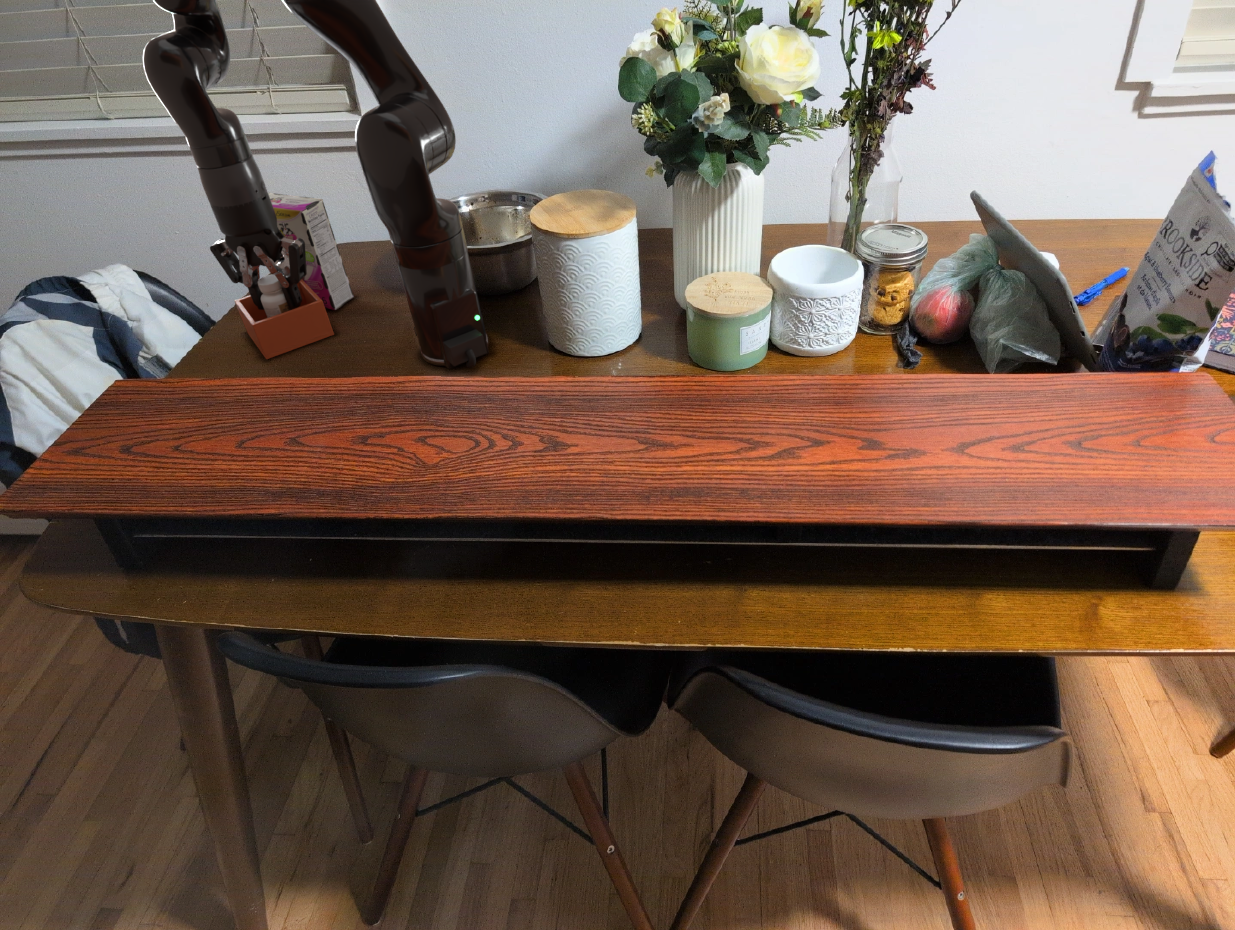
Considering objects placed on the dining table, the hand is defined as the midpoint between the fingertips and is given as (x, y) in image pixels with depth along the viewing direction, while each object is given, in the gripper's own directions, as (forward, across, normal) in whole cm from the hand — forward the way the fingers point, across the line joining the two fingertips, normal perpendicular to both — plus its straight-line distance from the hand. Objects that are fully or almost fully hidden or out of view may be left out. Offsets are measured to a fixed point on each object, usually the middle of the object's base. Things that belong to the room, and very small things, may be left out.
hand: (280, 306), depth 124 cm
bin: (+5, 0, 0) cm, 5 cm away
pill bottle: (+4, 0, 0) cm, 4 cm away
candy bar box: (+5, -1, +11) cm, 12 cm away
